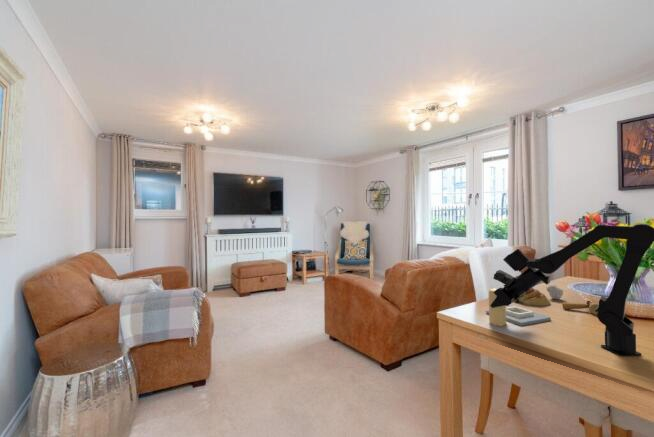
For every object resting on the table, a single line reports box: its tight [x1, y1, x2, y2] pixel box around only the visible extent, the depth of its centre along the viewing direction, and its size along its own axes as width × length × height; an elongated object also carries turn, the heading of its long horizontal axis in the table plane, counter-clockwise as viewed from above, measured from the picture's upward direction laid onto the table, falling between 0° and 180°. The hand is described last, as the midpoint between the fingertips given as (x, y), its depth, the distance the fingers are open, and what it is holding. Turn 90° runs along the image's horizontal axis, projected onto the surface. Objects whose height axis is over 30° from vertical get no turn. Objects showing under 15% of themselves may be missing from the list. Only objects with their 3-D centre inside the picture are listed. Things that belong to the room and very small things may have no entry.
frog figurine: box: [545, 284, 564, 300], centre depth 146 cm, size 6×7×7 cm
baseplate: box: [485, 306, 552, 327], centre depth 122 cm, size 16×16×3 cm
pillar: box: [488, 287, 507, 327], centre depth 115 cm, size 4×4×13 cm
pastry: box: [513, 287, 552, 307], centre depth 142 cm, size 13×15×8 cm
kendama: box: [561, 299, 599, 315], centre depth 126 cm, size 8×6×18 cm
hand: (493, 305), depth 116 cm, fingers closed on pillar, 4 cm apart
